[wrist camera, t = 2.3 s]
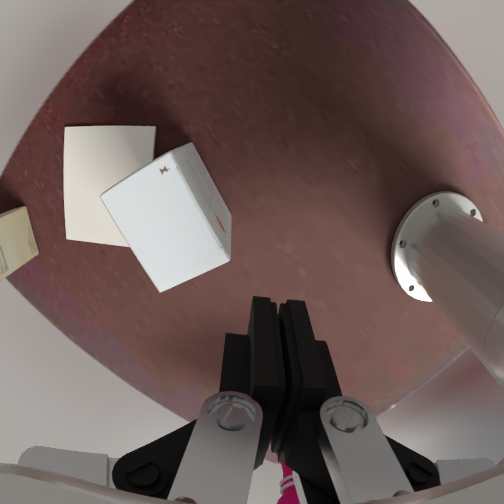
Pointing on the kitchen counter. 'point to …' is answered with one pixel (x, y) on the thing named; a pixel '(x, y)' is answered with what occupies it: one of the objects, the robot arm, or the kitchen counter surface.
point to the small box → (172, 217)
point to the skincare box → (15, 240)
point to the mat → (100, 175)
